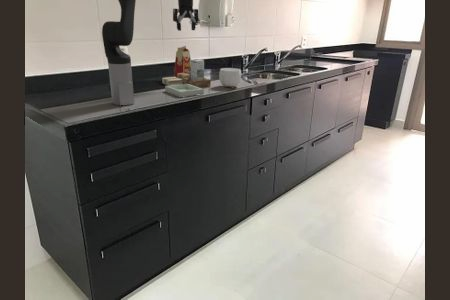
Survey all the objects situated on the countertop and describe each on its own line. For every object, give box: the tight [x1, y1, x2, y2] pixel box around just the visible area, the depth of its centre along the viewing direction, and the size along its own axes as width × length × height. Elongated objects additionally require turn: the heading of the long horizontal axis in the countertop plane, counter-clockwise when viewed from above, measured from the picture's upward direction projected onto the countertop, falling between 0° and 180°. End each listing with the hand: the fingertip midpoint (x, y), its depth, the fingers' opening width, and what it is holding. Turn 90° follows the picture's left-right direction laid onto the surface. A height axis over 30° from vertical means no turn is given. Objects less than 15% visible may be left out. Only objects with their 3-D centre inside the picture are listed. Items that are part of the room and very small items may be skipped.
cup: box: [218, 67, 242, 88], centre depth 176 cm, size 12×12×10 cm
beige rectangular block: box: [161, 76, 183, 86], centre depth 180 cm, size 10×8×4 cm
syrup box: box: [190, 58, 205, 81], centre depth 175 cm, size 6×6×14 cm
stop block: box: [177, 73, 190, 80], centre depth 184 cm, size 8×4×5 cm, turn 37°
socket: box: [183, 77, 211, 89], centre depth 177 cm, size 11×11×4 cm
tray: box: [164, 84, 205, 98], centre depth 160 cm, size 16×13×3 cm
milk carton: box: [174, 45, 192, 77], centre depth 192 cm, size 9×9×20 cm
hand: (186, 30), depth 166 cm, fingers open, 8 cm apart
